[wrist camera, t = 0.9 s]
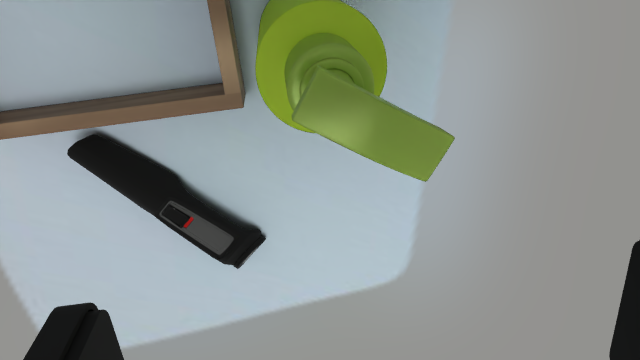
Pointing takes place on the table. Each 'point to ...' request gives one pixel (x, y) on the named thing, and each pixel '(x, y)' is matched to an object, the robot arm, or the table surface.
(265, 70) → the soap dispenser
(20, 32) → the table surface
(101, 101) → the frame
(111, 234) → the table surface
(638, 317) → the robot arm
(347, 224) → the table surface
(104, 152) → the electric trimmer
